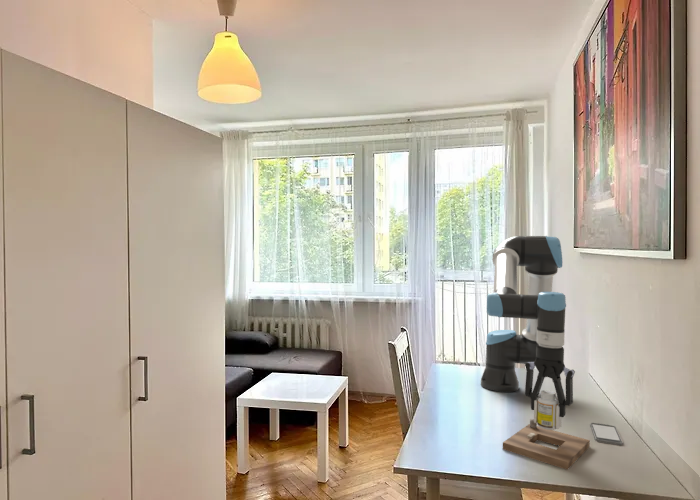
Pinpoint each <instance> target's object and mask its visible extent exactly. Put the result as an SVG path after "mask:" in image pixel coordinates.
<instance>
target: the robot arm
mask: <svg viewBox="0 0 700 500" xmlns="http://www.w3.org/2000/svg"><path fill="white" fill-rule="evenodd" d="M491 258H492V264H493V266H494V275H493V276H494V277H493V278H494V279H493V292H490V293H488V294H487V295H486V314H487V316H489V317H490V316H491V317H496V318H497V317H498V318H510V319H511V318H512V319H513V318H514V319H524V320H525V319H526V323H525V325H526V326H525V328H523V329H522V331H521V334H517V332H516V330H513V329H499V330H497V329H496V330H492V331H490V332H488V333H487V335H486V342H485V345H486V350H485V368H484V369H483V373H482V376H481V378H480V386H481V387H482V388H484V389H486V390H489V391H492V392H493V391H494V392H501V393H511V392H517V391H518V390H519V388H520V387H519V386H520V383H519V380H518V379H519V378H518V376H517V372H516V364H521V365H522V364H523V365H524V367H525V370H526V374H525V384H524V385H525V386H524V387H525V388H524V396H525V397H528V398H530V409H531V410H532V411H533V419H534V423H537V416H538V398H539V397H540V396H539V394H540V393H541V388H542V386H543V384H544V380H545V378H549V379H551V380H552V383H553V385H554V389H555V393H556V398H557V400H558V405H557V406H556V429H555V430H557V429H558V430H559V429H560V428H561V427H562V420H563V418H564V417H565V416H566V408H567V407H566V406H568V407H570V406H571V405H572V404H573V402H574V388H573V387H574V386H573V384H574V380H573V379H574V376H575V373H576V371H575V370H574V369H570V368H568V367H566V366H565V362H564V361H565V348H564V347H563V346H565V334H566V331H565V330H566V329H565V326H566V325H565V322H566V307H567V302H566V300H567V299H566V295H565V294H564V293H562V292H558V291H557V292H556V291H553V279H554V277H553V276H555V275H556V274H557V273H558V270H559V269H561V268H562V267H563V252H562V245H561V241H560V239H559V237H556V236H548V235H514V236H511V237H508V238H506V239H504V240H503V241H501V242H500V243H499V244H497V246H496V247H495V249H494V250H493V253H492V257H491ZM517 267H524V270H525V272H526V273H527V274H528V285H527V286H528V289H527V294H521V293H520V294H519V293H518V269H517ZM535 368H536V369H537V371H538V373H537V377H536V381H535V384H533V383H534V370H535ZM562 373H564V377H565V392H564V389H563V384H562V381H561V380H562V378H561V374H562ZM533 385H534V387H533Z"/></svg>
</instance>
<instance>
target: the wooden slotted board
mask: <svg viewBox="0 0 700 500" xmlns="http://www.w3.org/2000/svg"><path fill="white" fill-rule="evenodd" d="M538 441H540V442H542V443H546V442H547V444H550V443H551V444H550V445H553V444H555V445H554V446H557V445H559V446H558V447H557V448H556V449H555V448H552V447H549V446H545V445H543V444H539V443H537V442H538ZM590 441H591V440H590V439H586V438H583V437H580V436H579V437H578V436H575V435H573V434H572V435H571V434H568V433H564V432H562V431H557V430H546V429H543V428H540V427H539V426H538V424H537V423H534V418H530V419H529V423H528V424H527V425H525V426H524V427H523V428H521V429H520V430H519V431H517V432H516V433H514V434H512V435H511V436H510V437H509V438H507V439H505V440H504V441H503V442H502V450H504V451H507V452H511V453H514V454H516V455H519V456H523V457H527V458H529V459H532V460H536V461H539V462H542V463H545V464H549V465H551V466H554V467H557V468H561V469H564V470H567V471H568V470H569V469H570V468H572V466H573V465H574V464H575V463H576V462H577V461H578V460H579V459H578V458H580V457H582V456H583V455H584V453H585V452H586V451H587V450H588V449H589V448H591V446H590V445H591V442H590ZM577 459H578V460H577ZM576 460H577V461H576ZM575 461H576V462H575Z"/></svg>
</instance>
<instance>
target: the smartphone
mask: <svg viewBox="0 0 700 500" xmlns="http://www.w3.org/2000/svg"><path fill="white" fill-rule="evenodd" d="M589 425H590V428H591V431H592V434H593V436H594V437H593V438H594V440H595V442H597V443H603V444H608V445H616V446H623V445H624V441H623V440H622V438H621V436H620V435H621V434H620V433H619V431H618V429H617V427H616V426H615V425H610V424H604V423H596V422H590V424H589Z"/></svg>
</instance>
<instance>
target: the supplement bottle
mask: <svg viewBox="0 0 700 500" xmlns="http://www.w3.org/2000/svg"><path fill="white" fill-rule="evenodd" d="M556 398H557V394H556V391H555V392H554V391H552V390H540V396H539V397H537V399H538V416H537V426H539V427H540V428H543V429H546V430H554V431H556V430H557V429H556V406H557V405H558V404H559V402H558V398H557V399H556Z"/></svg>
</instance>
